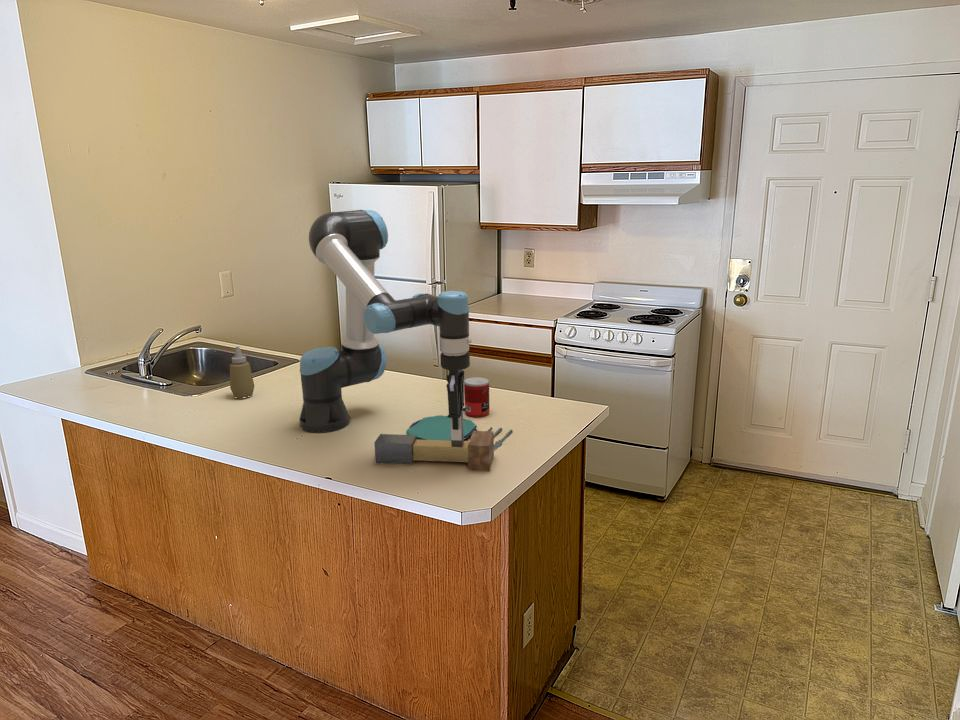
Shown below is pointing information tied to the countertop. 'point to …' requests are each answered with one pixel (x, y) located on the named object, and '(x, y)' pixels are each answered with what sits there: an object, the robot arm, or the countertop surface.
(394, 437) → the sleeve
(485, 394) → the canned food
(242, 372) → the squeeze bottle
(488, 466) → the socket block
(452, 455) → the gray and tan bar
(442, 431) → the cutlery set
